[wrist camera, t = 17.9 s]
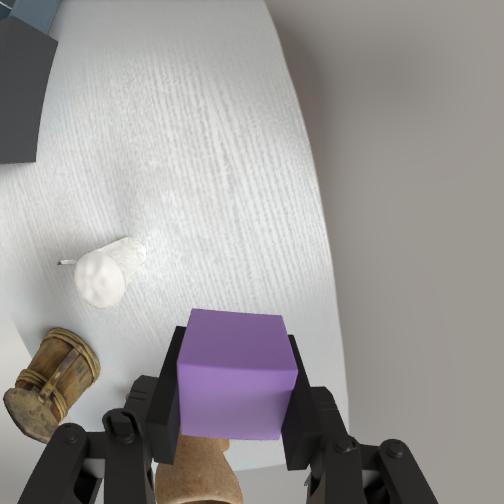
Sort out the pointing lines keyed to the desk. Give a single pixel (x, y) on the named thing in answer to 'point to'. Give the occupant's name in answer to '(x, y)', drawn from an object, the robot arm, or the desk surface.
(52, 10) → the drawer
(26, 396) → the wooden mug
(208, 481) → the stone cup
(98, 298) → the milkshake
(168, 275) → the desk surface
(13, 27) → the cabinet
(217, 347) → the cube
